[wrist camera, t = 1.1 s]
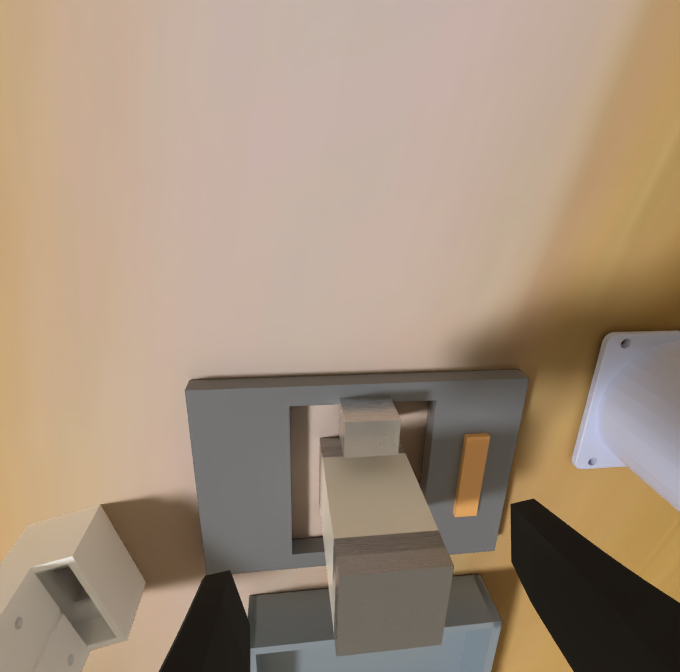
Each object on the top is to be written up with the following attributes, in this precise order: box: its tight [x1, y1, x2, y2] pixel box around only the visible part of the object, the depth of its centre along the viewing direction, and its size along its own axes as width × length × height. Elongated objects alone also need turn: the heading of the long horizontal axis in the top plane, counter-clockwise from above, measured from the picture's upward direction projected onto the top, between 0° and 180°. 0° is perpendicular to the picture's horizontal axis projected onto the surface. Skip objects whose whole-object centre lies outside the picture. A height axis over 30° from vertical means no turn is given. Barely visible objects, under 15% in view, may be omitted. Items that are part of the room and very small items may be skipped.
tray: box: [248, 574, 502, 672], centre depth 27 cm, size 14×11×3 cm
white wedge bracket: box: [0, 505, 146, 672], centre depth 19 cm, size 4×10×9 cm
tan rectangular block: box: [319, 437, 454, 657], centre depth 19 cm, size 4×4×8 cm
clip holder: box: [185, 369, 529, 575], centre depth 21 cm, size 16×11×3 cm
